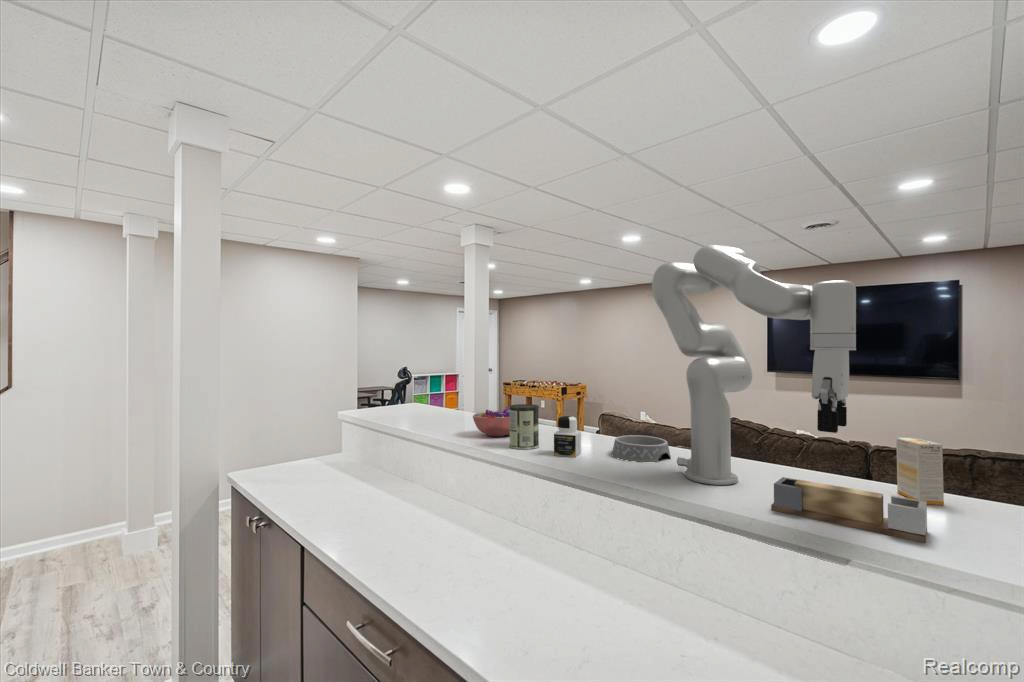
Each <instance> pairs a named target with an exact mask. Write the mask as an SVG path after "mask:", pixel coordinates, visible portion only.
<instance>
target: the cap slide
mask: <svg viewBox="0 0 1024 682" xmlns="http://www.w3.org/2000/svg"><path fill="white" fill-rule="evenodd" d="M927 506H928V504H927V501H921V500H915V499H910V498H908V497H905V496H898V495H891V496H890V502H888V503H887V518H888V528H892V529H897V530H902V531H907V532H911V533H916V534H921V535H925V534H926V528H927V529H928V511H927V510H928V507H927Z"/></svg>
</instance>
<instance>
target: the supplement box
mask: <svg viewBox="0 0 1024 682" xmlns="http://www.w3.org/2000/svg"><path fill="white" fill-rule="evenodd" d="M895 441H896V442H895V443H896V444H895V445H896V475H897V476H896V483H897V484H896V486H897V488H896V489H897V493H898V494H899V495H901V496H903V497H905V498H909V499H915V500H921V501H927V505H937V506H944V503H945V502H944V501H945V499H944V496H945V495H944V494H945V493H944V461H943V460H944V459H943V457H944V455H943V454H944V453H943V452H944V451H943V444H941V443H937V442H934V441H929V440H927V439H922V438H920V437H919V438H918V437H896V440H895Z"/></svg>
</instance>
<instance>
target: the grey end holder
mask: <svg viewBox="0 0 1024 682" xmlns="http://www.w3.org/2000/svg"><path fill="white" fill-rule="evenodd" d="M797 480H798V479H796V478H790V477H784V476H782V477H781V478H779V479H778V480H777V481H776V482H774V483H773V503H774V506H779V507H784V508H789V509H793V510H798V511H802V510H803V488H802V487H796V486H794V483H795V482H796V481H797Z"/></svg>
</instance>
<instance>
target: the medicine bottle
mask: <svg viewBox="0 0 1024 682" xmlns="http://www.w3.org/2000/svg"><path fill="white" fill-rule="evenodd" d="M557 429H558V430H557V431H556V432H554V434H553V455H554V456H555V455H557V457H566V458H567V457H568V458H569V457H570V458H576V457H578V456H579V455H580V454H581V453H582V449H581V448H582V446H581V445H582V443H581V442H582V441H581V440H582V437H581V436H582V433H581V431H580V430H578V419H577V418H576V417H575V416H571V415H569V416H568V415H563V416H560V417H558V418H557Z"/></svg>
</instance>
